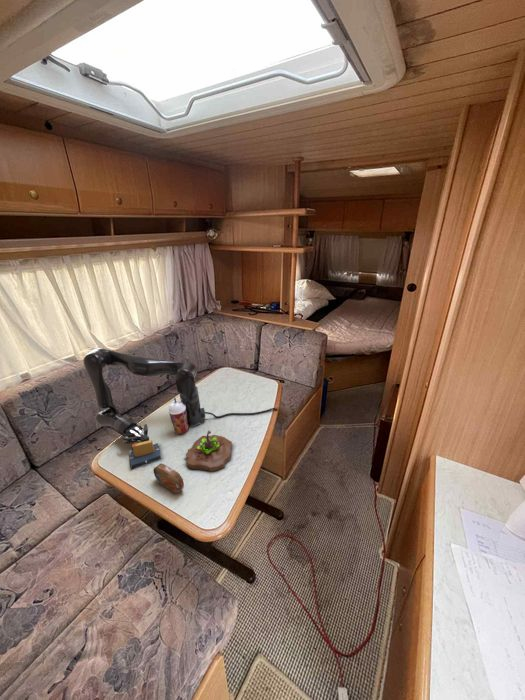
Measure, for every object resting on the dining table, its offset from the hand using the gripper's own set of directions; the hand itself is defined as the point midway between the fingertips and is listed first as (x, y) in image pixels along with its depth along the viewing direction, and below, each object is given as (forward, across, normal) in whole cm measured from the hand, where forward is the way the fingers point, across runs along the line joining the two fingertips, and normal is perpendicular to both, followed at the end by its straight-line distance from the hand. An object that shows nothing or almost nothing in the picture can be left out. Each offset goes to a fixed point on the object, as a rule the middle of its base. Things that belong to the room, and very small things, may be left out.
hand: (147, 440), depth 123 cm
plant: (+24, +14, +7) cm, 29 cm away
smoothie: (+1, +18, +7) cm, 19 cm away
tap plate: (+1, -3, +7) cm, 8 cm away
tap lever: (+1, -3, +5) cm, 6 cm away
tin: (+23, -7, +7) cm, 25 cm away
